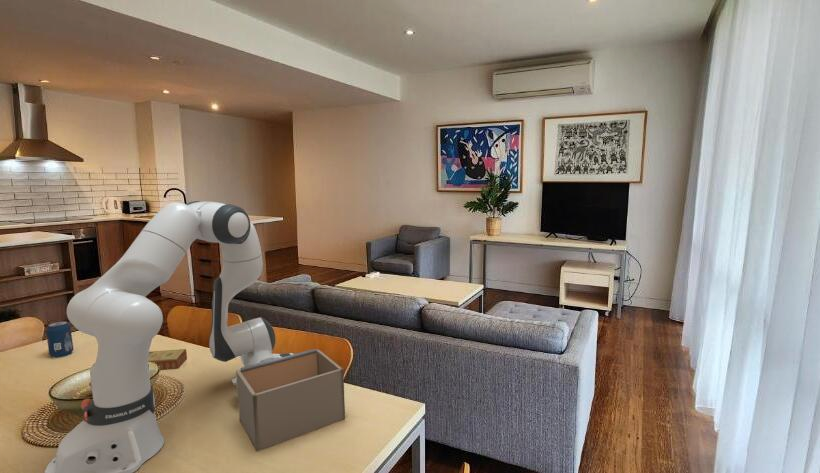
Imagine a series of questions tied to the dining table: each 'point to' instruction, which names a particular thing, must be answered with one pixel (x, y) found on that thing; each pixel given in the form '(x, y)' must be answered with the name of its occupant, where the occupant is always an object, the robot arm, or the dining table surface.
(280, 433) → the open carton
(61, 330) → the blue can
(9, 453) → the dining table surface
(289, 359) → the flap
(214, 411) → the dining table surface
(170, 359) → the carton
